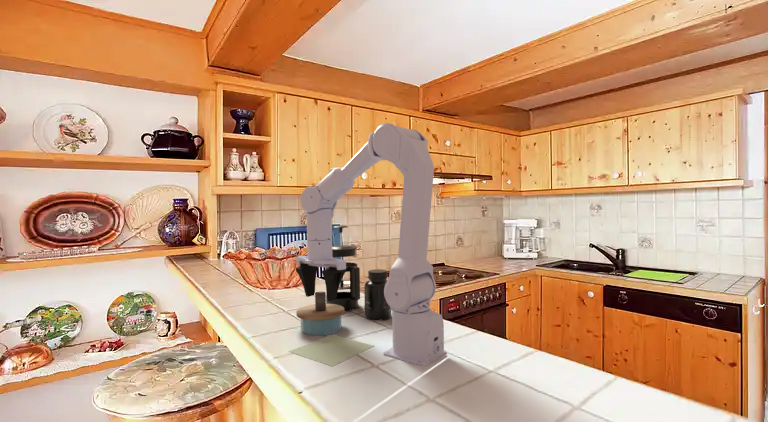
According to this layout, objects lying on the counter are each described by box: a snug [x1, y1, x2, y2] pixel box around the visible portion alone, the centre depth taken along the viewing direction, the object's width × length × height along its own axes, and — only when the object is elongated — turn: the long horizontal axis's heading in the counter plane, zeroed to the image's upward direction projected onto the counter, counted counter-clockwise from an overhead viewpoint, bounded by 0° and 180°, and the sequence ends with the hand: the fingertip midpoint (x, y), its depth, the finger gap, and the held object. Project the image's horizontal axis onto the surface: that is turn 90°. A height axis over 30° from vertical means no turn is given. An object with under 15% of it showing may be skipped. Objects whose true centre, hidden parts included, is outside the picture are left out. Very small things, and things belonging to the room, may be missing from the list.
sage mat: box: [288, 333, 375, 367], centre depth 78 cm, size 12×12×1 cm
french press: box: [325, 225, 361, 312], centre depth 109 cm, size 12×9×23 cm
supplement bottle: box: [364, 268, 392, 321], centre depth 99 cm, size 7×7×12 cm
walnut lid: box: [295, 291, 346, 321], centre depth 90 cm, size 11×11×5 cm
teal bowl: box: [300, 316, 342, 336], centre depth 90 cm, size 9×9×4 cm
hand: (320, 297), depth 90 cm, fingers open, 7 cm apart
